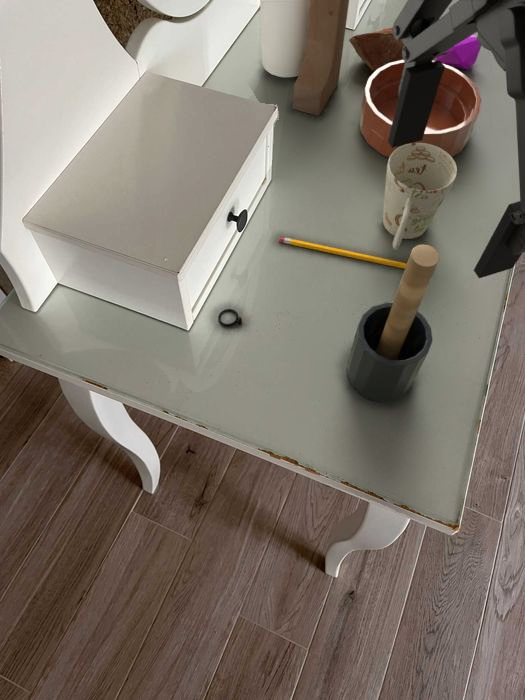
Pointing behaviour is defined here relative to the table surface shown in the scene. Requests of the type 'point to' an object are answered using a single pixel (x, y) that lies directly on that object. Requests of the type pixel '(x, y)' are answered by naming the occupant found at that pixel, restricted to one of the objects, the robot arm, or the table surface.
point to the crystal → (462, 53)
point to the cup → (284, 35)
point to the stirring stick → (407, 300)
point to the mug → (415, 188)
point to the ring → (238, 321)
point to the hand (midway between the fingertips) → (445, 201)
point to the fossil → (378, 48)
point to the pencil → (343, 252)
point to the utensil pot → (381, 373)
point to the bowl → (445, 118)
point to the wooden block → (321, 55)
